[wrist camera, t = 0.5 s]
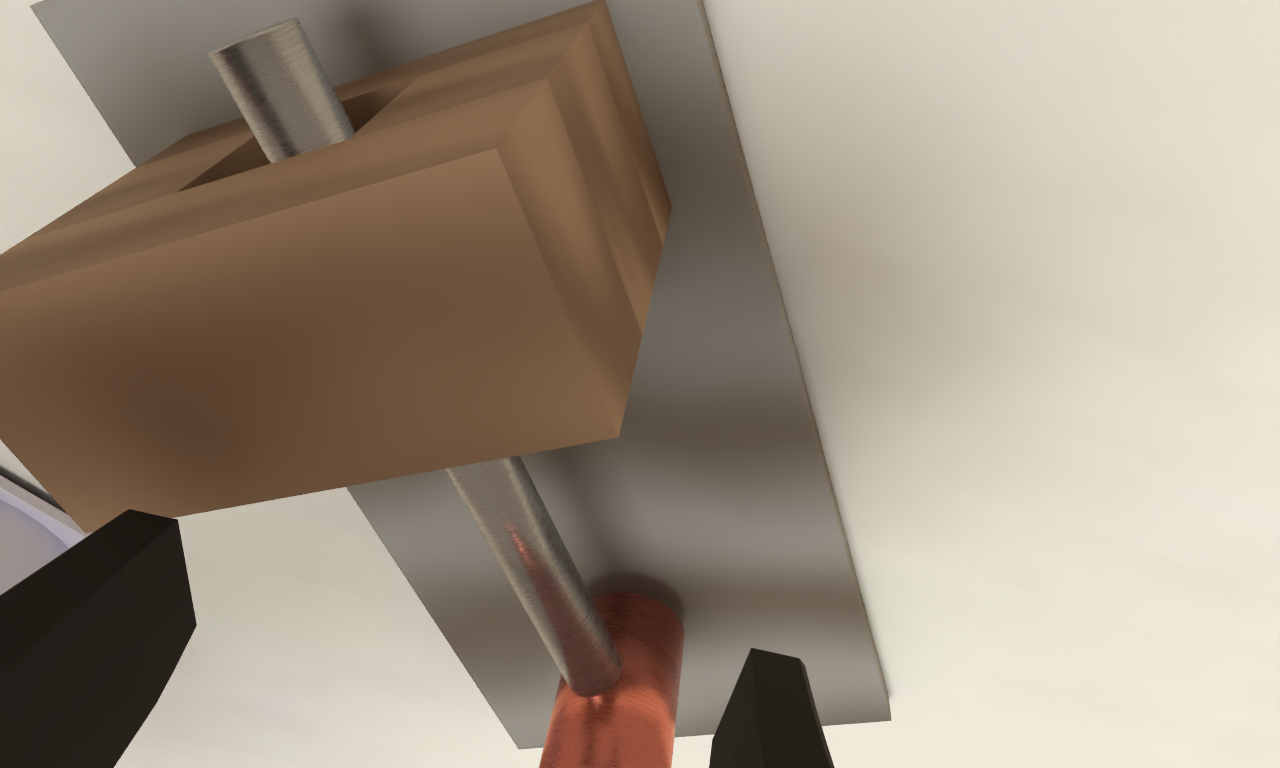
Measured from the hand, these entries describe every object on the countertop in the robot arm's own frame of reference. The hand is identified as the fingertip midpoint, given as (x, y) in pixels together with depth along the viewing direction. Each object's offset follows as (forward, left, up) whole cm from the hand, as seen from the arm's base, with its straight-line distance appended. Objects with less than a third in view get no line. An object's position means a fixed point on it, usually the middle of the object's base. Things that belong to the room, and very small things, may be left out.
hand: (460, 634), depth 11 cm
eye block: (-4, -2, -10) cm, 11 cm away
